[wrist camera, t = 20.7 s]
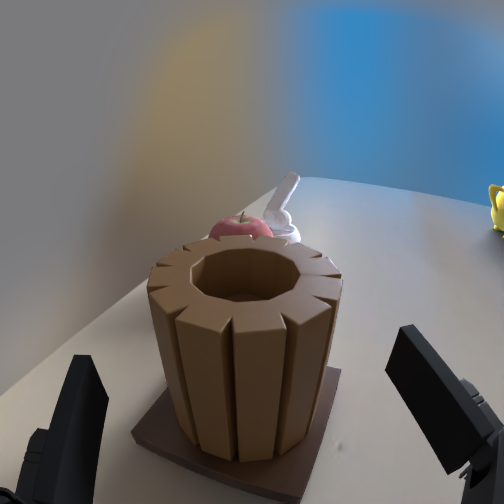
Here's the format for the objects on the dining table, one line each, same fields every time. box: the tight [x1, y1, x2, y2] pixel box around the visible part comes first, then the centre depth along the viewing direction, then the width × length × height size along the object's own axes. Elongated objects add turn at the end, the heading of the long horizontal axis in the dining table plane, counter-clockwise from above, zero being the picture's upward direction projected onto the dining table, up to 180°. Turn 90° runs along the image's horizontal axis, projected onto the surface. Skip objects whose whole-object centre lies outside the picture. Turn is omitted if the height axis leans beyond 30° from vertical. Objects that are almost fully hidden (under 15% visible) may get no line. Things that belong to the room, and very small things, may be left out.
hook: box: [263, 171, 300, 245], centre depth 48 cm, size 8×12×7 cm
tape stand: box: [131, 294, 341, 504], centre depth 18 cm, size 11×11×10 cm
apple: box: [208, 211, 274, 242], centre depth 36 cm, size 7×7×8 cm
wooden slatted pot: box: [147, 235, 343, 462], centre depth 17 cm, size 9×9×10 cm
